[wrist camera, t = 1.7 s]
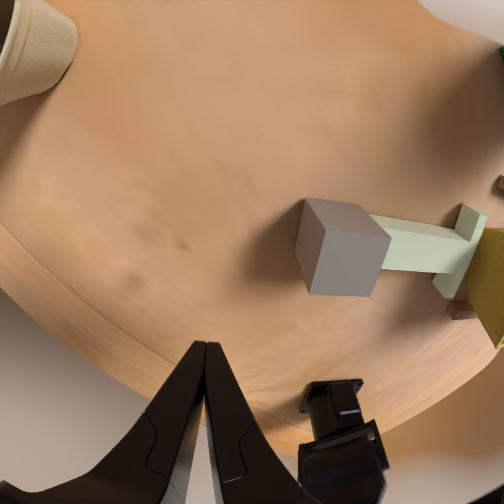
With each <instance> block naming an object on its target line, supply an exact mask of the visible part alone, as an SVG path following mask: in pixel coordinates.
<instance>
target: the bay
mask: <svg viewBox="0 0 504 504" xmlns="http://www.w3.org/2000/svg"><path fill="white" fill-rule="evenodd" d="M498 187H499V188H501V189H503V190H504V176H502V175H501V176H500V180H499V183H498ZM446 312H447V313H448V314H449V316H450V317H451V318H452V320H460V319H471V318H478V316H477V314H476V312H475V311H474V309H473V306H472V304H471V302H451V303H450V305H449V307H448V309H447V311H446Z"/></svg>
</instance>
